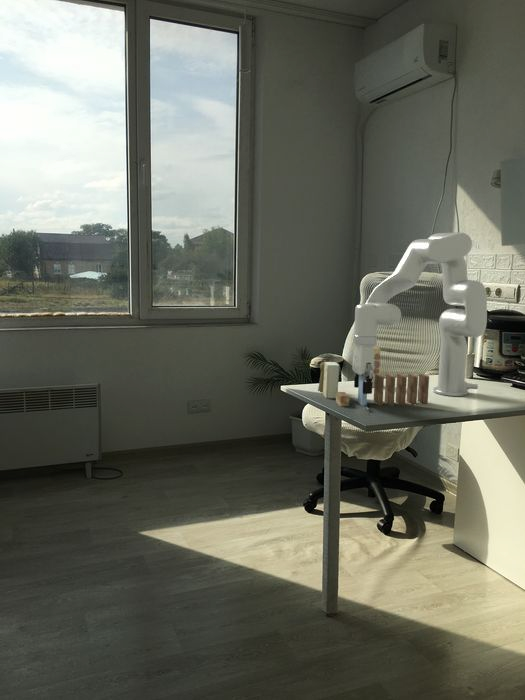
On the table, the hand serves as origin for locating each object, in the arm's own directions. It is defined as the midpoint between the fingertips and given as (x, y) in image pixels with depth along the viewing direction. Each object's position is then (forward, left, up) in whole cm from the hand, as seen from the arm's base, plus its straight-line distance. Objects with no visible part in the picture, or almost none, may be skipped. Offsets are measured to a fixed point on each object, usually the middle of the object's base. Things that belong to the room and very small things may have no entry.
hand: (362, 390), depth 201 cm
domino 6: (-21, -4, -5) cm, 22 cm away
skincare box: (+10, -10, -5) cm, 15 cm away
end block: (+7, +1, -5) cm, 8 cm away
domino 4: (-13, -2, -5) cm, 14 cm away
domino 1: (0, 0, -5) cm, 5 cm away
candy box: (-6, -32, -5) cm, 33 cm away
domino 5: (-17, -3, -5) cm, 18 cm away
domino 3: (-10, -2, -5) cm, 11 cm away
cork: (+11, -19, -5) cm, 22 cm away
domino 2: (-6, -1, -5) cm, 7 cm away
